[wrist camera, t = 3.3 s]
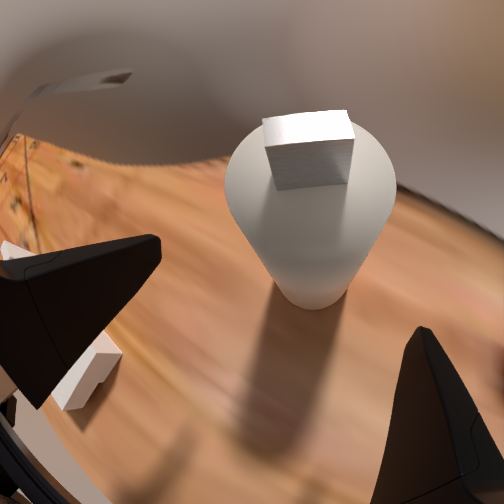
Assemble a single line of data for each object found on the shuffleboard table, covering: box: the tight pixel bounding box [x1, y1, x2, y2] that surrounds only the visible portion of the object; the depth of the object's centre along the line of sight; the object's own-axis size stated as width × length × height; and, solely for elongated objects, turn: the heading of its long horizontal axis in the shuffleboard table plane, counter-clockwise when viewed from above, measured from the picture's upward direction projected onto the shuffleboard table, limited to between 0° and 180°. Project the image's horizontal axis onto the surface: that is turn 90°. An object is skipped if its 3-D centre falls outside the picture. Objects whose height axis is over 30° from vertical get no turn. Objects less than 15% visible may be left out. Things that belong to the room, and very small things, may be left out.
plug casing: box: [225, 110, 396, 310], centre depth 12 cm, size 5×5×14 cm
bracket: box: [0, 240, 123, 411], centre depth 19 cm, size 13×7×8 cm, turn 52°
